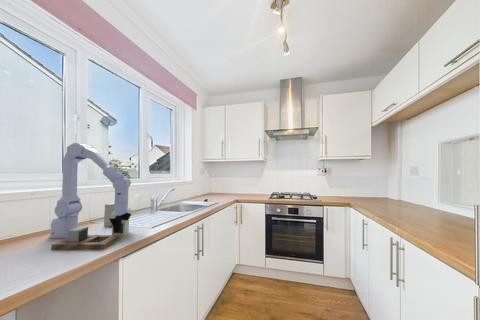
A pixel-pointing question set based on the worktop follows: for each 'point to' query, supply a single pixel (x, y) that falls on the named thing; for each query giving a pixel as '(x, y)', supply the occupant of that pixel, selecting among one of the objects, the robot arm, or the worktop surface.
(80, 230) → the grey block
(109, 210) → the skincare box
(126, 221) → the block
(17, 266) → the worktop surface
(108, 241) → the brown wooden frame
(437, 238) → the worktop surface
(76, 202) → the robot arm
